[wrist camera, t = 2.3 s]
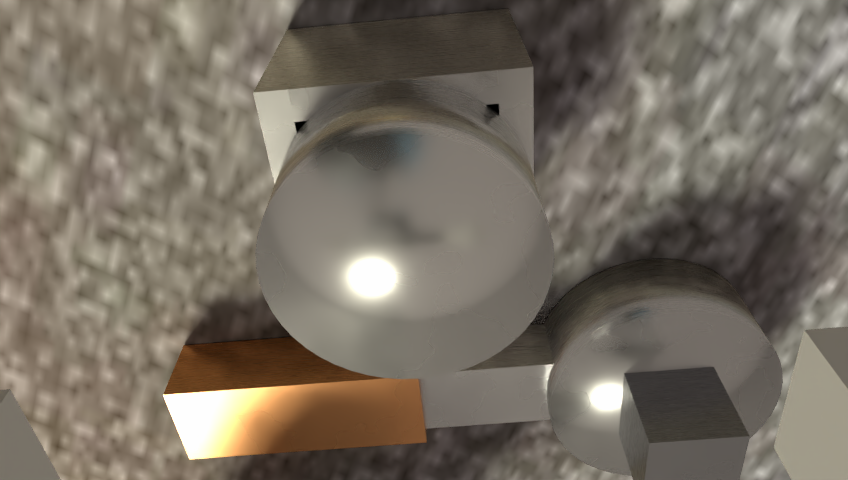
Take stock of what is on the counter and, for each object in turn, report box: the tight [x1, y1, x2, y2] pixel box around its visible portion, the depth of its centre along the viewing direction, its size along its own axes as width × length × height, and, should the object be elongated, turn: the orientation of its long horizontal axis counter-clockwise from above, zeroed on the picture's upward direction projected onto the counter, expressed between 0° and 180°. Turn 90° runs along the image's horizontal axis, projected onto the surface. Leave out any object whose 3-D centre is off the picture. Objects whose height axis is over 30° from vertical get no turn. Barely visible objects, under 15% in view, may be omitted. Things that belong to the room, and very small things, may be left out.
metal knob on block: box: [253, 9, 554, 379], centre depth 18 cm, size 6×6×8 cm
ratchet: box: [163, 259, 783, 480], centre depth 25 cm, size 8×22×6 cm, turn 95°
